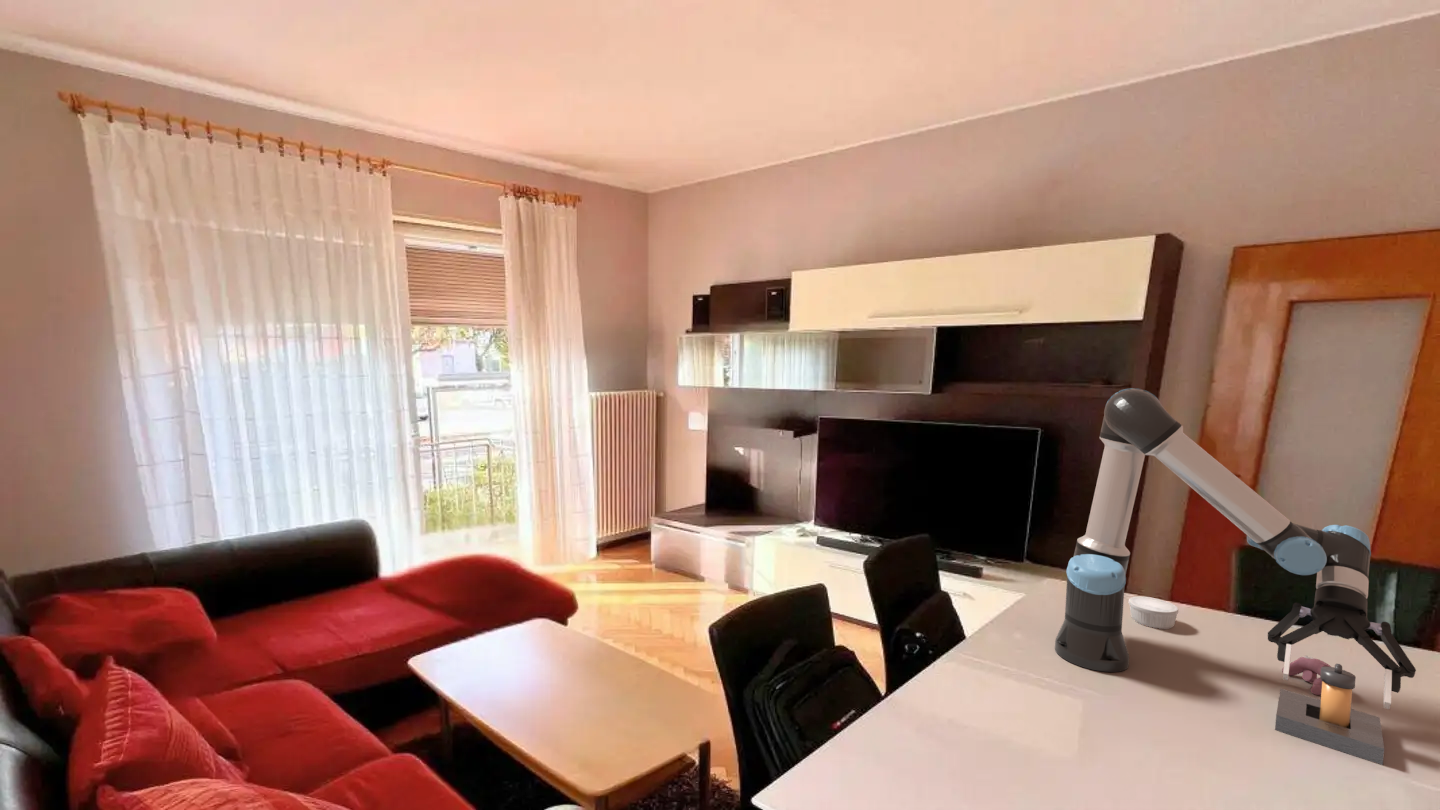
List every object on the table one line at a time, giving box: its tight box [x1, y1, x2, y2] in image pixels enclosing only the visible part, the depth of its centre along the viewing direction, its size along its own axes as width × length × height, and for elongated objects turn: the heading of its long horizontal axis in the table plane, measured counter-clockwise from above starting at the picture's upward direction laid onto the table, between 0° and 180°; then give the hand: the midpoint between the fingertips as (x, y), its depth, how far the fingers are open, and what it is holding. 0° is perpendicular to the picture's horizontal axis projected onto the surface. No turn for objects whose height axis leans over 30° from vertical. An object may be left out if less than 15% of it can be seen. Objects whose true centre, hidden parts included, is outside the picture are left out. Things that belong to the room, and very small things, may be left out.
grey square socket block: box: [1274, 688, 1385, 766], centre depth 116 cm, size 14×14×3 cm
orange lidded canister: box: [1319, 663, 1356, 729], centre depth 115 cm, size 5×5×14 cm
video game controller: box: [1281, 655, 1332, 696], centre depth 133 cm, size 10×5×7 cm, turn 170°
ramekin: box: [1128, 595, 1179, 630], centre depth 165 cm, size 11×11×5 cm
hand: (1334, 690), depth 115 cm, fingers open, 13 cm apart
